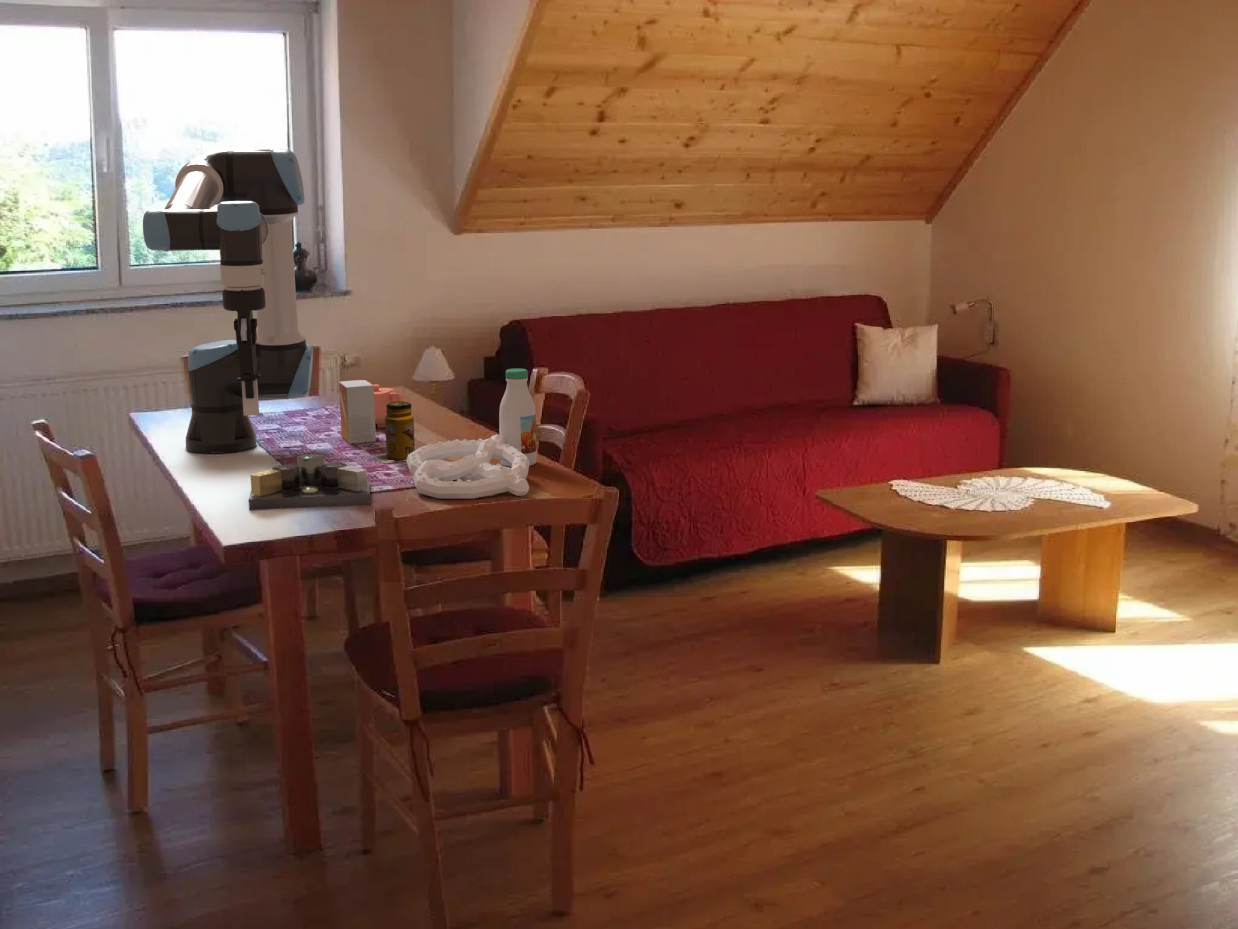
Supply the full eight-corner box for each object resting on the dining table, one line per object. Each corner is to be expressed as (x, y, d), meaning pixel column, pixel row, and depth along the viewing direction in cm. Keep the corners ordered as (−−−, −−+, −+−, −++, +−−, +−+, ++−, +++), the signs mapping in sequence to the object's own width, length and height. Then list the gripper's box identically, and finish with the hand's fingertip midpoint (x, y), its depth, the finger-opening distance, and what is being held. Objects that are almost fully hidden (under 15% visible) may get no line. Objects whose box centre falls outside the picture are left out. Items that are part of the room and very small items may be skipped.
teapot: (344, 422, 338) (342, 383, 335) (392, 418, 343) (390, 379, 341) (358, 431, 328) (356, 390, 325) (407, 426, 333) (405, 386, 330)
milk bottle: (508, 469, 290) (506, 373, 285) (494, 461, 297) (492, 368, 292) (542, 465, 293) (541, 371, 289) (528, 458, 300) (526, 365, 296)
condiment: (422, 459, 299) (420, 404, 297) (385, 464, 295) (383, 408, 292) (407, 453, 305) (405, 398, 303) (371, 457, 301) (369, 402, 298)
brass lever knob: (246, 492, 262) (245, 473, 261) (287, 482, 270) (286, 463, 269) (265, 496, 259) (263, 477, 258) (305, 485, 267) (304, 466, 266)
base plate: (254, 490, 273) (252, 455, 272) (369, 485, 277) (367, 450, 275) (249, 510, 259) (246, 473, 257) (370, 504, 263) (368, 468, 261)
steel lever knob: (335, 480, 272) (334, 461, 271) (372, 487, 266) (371, 468, 265) (315, 485, 268) (314, 466, 267) (352, 492, 262) (352, 473, 261)
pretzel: (544, 504, 269) (544, 472, 267) (421, 516, 263) (419, 485, 261) (516, 454, 294) (515, 425, 292) (403, 464, 288) (401, 435, 286)
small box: (341, 437, 321) (338, 381, 318) (368, 435, 324) (366, 379, 321) (348, 444, 314) (345, 386, 311) (376, 441, 316) (374, 384, 313)
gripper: (262, 291, 249) (270, 421, 255) (266, 283, 262) (274, 406, 268) (218, 292, 248) (227, 422, 254) (225, 283, 261) (233, 408, 266)
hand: (251, 414), depth 261 cm, fingers closed
